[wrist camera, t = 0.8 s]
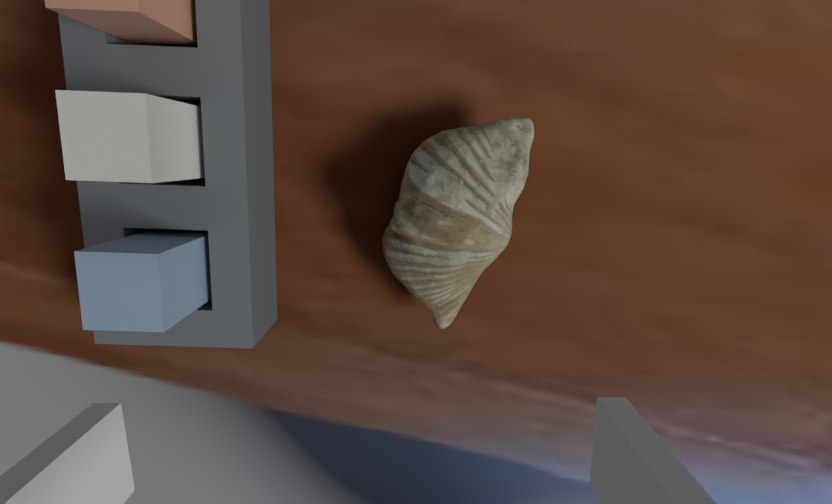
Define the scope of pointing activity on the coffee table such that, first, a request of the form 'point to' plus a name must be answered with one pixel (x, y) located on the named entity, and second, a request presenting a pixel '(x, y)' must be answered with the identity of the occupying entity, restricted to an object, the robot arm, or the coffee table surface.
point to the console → (223, 161)
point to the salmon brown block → (135, 18)
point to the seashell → (456, 211)
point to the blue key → (143, 281)
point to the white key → (129, 137)
